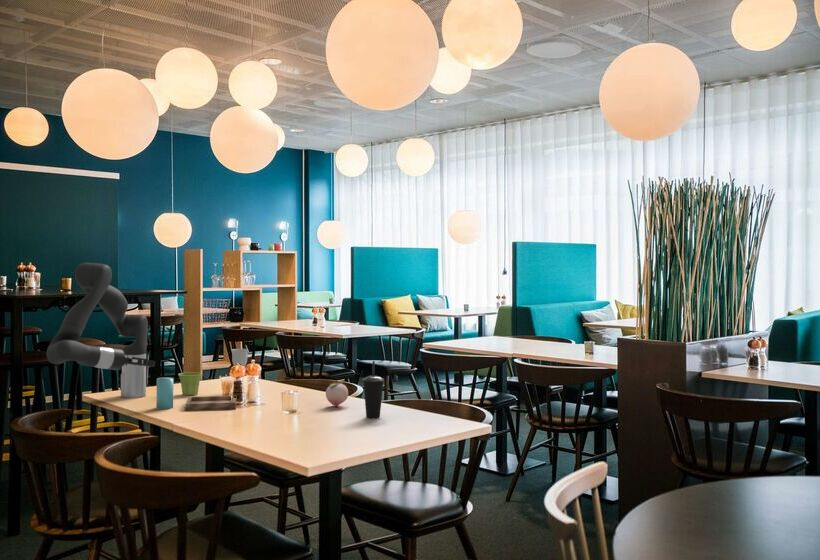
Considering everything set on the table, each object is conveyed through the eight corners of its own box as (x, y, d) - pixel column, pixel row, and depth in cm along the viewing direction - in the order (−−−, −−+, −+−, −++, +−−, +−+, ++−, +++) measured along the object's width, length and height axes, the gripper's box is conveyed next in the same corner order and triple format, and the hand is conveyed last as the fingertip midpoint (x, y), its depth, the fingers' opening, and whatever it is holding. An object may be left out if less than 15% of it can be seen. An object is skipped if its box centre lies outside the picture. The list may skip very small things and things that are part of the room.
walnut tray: (185, 410, 275) (185, 403, 275) (188, 403, 291) (188, 396, 291) (235, 409, 279) (235, 402, 279) (236, 402, 294) (236, 395, 294)
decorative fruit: (343, 409, 281) (343, 382, 281) (323, 408, 283) (323, 381, 283) (351, 405, 291) (351, 379, 290) (331, 404, 292) (331, 378, 292)
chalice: (250, 390, 323) (250, 348, 323) (245, 393, 316) (245, 350, 316) (233, 390, 324) (234, 348, 324) (228, 392, 317) (228, 350, 317)
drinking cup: (360, 418, 263) (360, 362, 263) (364, 414, 271) (365, 359, 271) (381, 419, 262) (382, 362, 262) (385, 415, 270) (386, 360, 270)
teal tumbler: (155, 409, 277) (155, 379, 276) (157, 406, 282) (157, 377, 282) (172, 409, 278) (172, 379, 278) (173, 406, 284) (174, 377, 284)
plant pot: (194, 397, 305) (194, 375, 305) (173, 395, 308) (173, 374, 308) (206, 393, 314) (206, 372, 314) (186, 392, 317) (186, 371, 317)
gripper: (119, 347, 259) (160, 353, 271) (98, 347, 268) (138, 353, 280) (116, 369, 257) (157, 374, 270) (94, 368, 266) (135, 373, 278)
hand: (148, 363), depth 275 cm, fingers open, 8 cm apart
